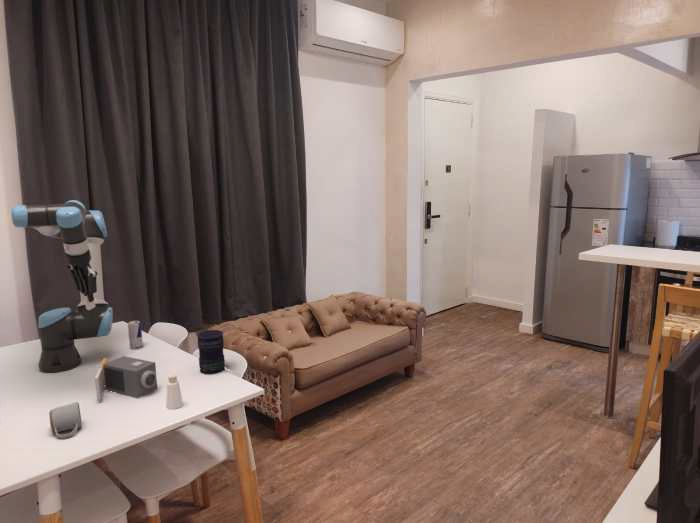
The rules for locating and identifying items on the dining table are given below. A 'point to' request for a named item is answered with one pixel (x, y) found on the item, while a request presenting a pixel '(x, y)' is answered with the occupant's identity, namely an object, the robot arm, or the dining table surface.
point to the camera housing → (130, 376)
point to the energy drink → (135, 335)
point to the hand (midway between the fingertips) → (91, 307)
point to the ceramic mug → (65, 419)
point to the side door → (100, 380)
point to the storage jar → (211, 352)
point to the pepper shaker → (173, 393)
